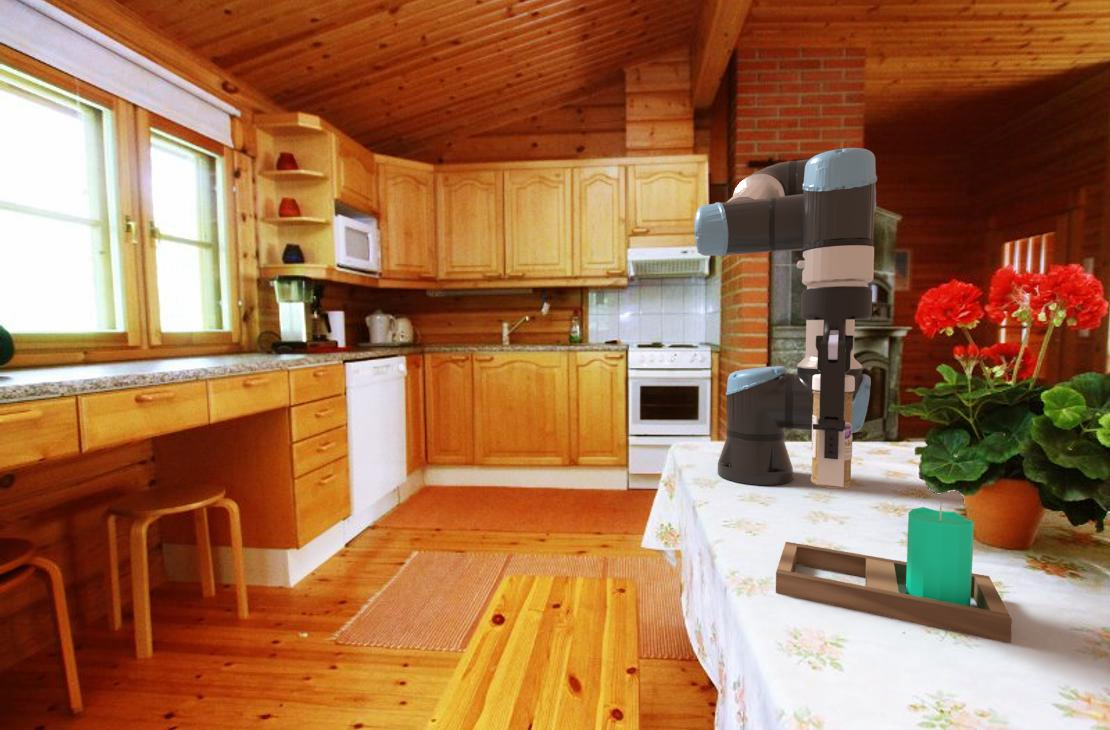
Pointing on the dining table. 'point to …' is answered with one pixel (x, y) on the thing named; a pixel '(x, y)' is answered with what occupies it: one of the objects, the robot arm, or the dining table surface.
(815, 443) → the sprinkles bottle
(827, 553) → the walnut rail
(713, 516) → the dining table surface
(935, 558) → the candle
